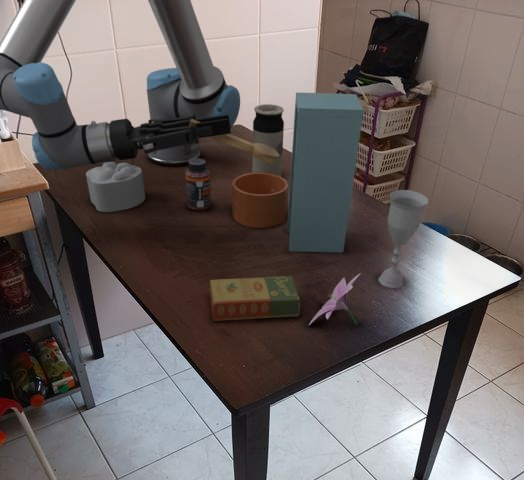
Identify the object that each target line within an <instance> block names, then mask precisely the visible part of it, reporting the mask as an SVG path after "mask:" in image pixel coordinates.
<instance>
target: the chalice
mask: <svg viewBox="0 0 524 480" xmlns="http://www.w3.org/2000/svg"><path fill="white" fill-rule="evenodd" d="M389 199H390V206H389V211H388V216H387V225H388V231H389V234H390V238H391V241H392V243H393V244H395V248H394V249H393V251H392V253H393V257H391V258H390V261H391V266H390V267H388V268H385V269H384V270H383V271H382V273H381V275H380V276H379V277H378V282H379V284H380V285H382V286H383V287H386V288H390V289H397V288H401V287H402V286H403V285H404V279H403V276H402V275H403V274H402V272H401V271H400V269H399V268H397V267H398V264H400V262H401V260H400V259H399V257H400V255H402V250H401V248H402V246H405V245H406V244H407V243H408V242H409V241H410V240H411V239H412V238H413V236H414V235H415V234H416V233H417V231H418V229H419V227H420V224H421V220H422V215H423V212H424V208H426V206H427V205H428V203H429V200H428V198H427V197H426V196H425V195H424V194H422V193H420V192H418V191H414V190H409V189H397V190H394V191H393V190H392V191H391V192H390V194H389Z"/></svg>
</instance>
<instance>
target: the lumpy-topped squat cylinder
mask: <svg viewBox="0 0 524 480" xmlns="http://www.w3.org/2000/svg"><path fill="white" fill-rule="evenodd" d="M85 177H86V182H87V187H88V193H89V199H90V203H91V204H93V206H95V210H96V211H99V212H100V213H113V212H118V211H119V212H120V211H125V210H128V209H132V208H135V207H137V206H140V204H142V203H143V202H144V201H145V200H146V191H145V183H144V182H145V181H144V174H143V170H142V168H141V167H139V166H136V165H132V164H130V163H128V162H121V163H120V162H119V163H116V162H108V163H102V166H96V167H93V168H90V169H89V170H87V171H86V173H85Z"/></svg>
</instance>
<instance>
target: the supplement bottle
mask: <svg viewBox="0 0 524 480" xmlns="http://www.w3.org/2000/svg"><path fill="white" fill-rule="evenodd" d="M184 179H185V194H186V197H185V198H186V206H187V208H188V209H190V210H192V211H206V210H207V209H209V208H210V207H211V205H212V198H211V197H212V195H211V172H210V170H209V169H208V168H207V163H206V160H205V159H203V158H199V159H191V160H189V164H188V168H187V169H186V170H185V172H184Z"/></svg>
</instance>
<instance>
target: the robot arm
mask: <svg viewBox="0 0 524 480" xmlns="http://www.w3.org/2000/svg"><path fill="white" fill-rule="evenodd" d="M76 1H77V0H23V2H22V4H21V6H20V7H19V8H18V10H17V12H16V14H15V16H14V18H13V20H12V21H11V23H10V25H9V27H8V28H7V30H6V32H5V34H4V35H3V37H2V39H1V41H0V110H2V111H5V112H9V113H12V114H15V115H19V116H22V117H26V118H29V119H30V120H31V121H32V123H33V125H34V128H35V129H36V132H34V133H33V135H32V137H31V145H32V147H31V148H32V151H33V153H34V157H35V160H36V161H37V163H38V164H39V165H40V167H42V168H43V170H48V171H53V170H55V171H56V170H68V169H71V168H76V167H83V166H89V165H96V164H97V165H100V164H104V163H108V162H114V163H116V162H117V161H118V160H119V161H126V160H133V159H136V158H137V157H138V154H139V153H138V151H139V150H143V152H144V154H146V155H147V159H148V160H149V162H151V163H153V164H156V165H159V166H164V167H181V166H187V165H189V160H191V159H201V148H200V142H199V139H202V138H210V136H217V135H224V134H231V133H232V132H231V129H232V128H233V127H234V125H235V124H236V122H237V119H238V116H239V112H240V109H241V93H240V91H239V89H238V88H237V87H236V86H233V85H230V84H229V85H228V84H227V82H226V79H225V77H224V73H223V72H222V70H221V69H220V68H219V67H217V66H214V63H213V61H212V57H211V55H210V52H209V49H208V46H207V43H206V40H205V37H204V35H203V32H202V29H201V26H200V24H199V21H198V17H197V15H196V12H195V9H194V6H193V4H192V0H147V2H148V4H149V6H150V8H151V11H152V13H153V15H154V19H155V20H156V22H157V25H158V27H159V30H160V32H161V35H162V36H163V40H164V41H165V43H166V47H167V48H168V52H169V53H170V56H171V58H172V61H173V63H174V65H175V67H170V68H162V69H157V70H154V71H152V72H150V73H148V75H147V76H146V95H147V96H146V97H147V104H148V113H149V119H148V120H147V122H145V123H141V124H140V125H139V126H136V127H135V126H133V125H132V124H133V123H132V122H131V120H130V119H128V118H122V119H113V120H111V121H110V122H107V121H102V122H98V123H97V122H96V120H92V121H90V123H89V124H79V125H78V123H77V120H76V119H75V117H74V115H73V112H72V110H71V107H70V104H69V102H68V100H67V99H68V98H67V97H66V94H65V91H64V88H63V85H62V84H61V82H60V80H59V79H58V76H57V74H56V72H55V70H54V68H53V67H52V66H51V65H50V64H48V63H45V62H43V60H44V58H45V56H46V55H47V53H48V51H49V49H50V47H51V46H52V44H53V42H54V41H55V39H56V37H57V35H58V33H59V31H60V30H61V28H62V26H63V24H64V23H65V21H66V19H67V16H68V15H69V14H70V12H71V10H72V8H73V7H74V5H75V3H76ZM191 119H194V120H196V121H199V122H200V123H196V127H195V126H194V125H192V126H189V124H190V121H191ZM231 135H232V134H231Z"/></svg>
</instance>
